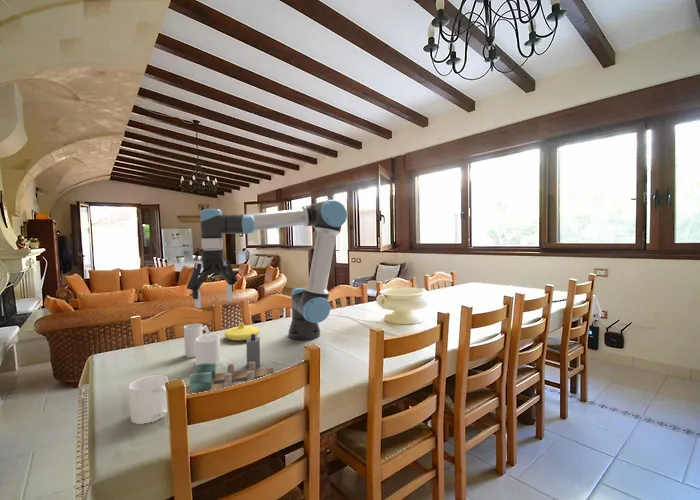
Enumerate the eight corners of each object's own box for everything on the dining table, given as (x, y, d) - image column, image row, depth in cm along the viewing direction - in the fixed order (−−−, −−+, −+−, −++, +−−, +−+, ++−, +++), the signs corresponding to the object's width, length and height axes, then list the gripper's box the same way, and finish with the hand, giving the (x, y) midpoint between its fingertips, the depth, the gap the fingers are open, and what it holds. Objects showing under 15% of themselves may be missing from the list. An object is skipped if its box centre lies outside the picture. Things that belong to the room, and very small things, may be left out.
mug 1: (123, 418, 88) (122, 385, 88) (157, 403, 96) (156, 372, 96) (149, 432, 82) (147, 396, 82) (182, 414, 90) (181, 381, 90)
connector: (260, 362, 125) (259, 332, 124) (259, 367, 121) (259, 335, 120) (247, 363, 124) (247, 333, 123) (247, 368, 120) (246, 336, 119)
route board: (273, 370, 118) (272, 354, 118) (273, 388, 105) (272, 370, 104) (195, 378, 112) (194, 361, 112) (184, 398, 99) (184, 379, 98)
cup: (204, 370, 118) (203, 343, 117) (187, 362, 125) (186, 336, 125) (224, 363, 125) (223, 337, 124) (207, 356, 132) (206, 331, 131)
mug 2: (189, 359, 128) (187, 329, 128) (181, 355, 133) (180, 326, 132) (213, 352, 136) (212, 323, 135) (206, 348, 140) (205, 320, 140)
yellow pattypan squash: (257, 331, 164) (257, 317, 163) (260, 341, 149) (260, 326, 149) (224, 334, 158) (223, 320, 158) (224, 345, 144) (223, 330, 143)
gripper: (233, 247, 138) (235, 296, 139) (174, 251, 117) (177, 309, 119) (245, 247, 134) (246, 298, 135) (186, 251, 113) (188, 312, 115)
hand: (214, 303), depth 127 cm, fingers open, 13 cm apart
